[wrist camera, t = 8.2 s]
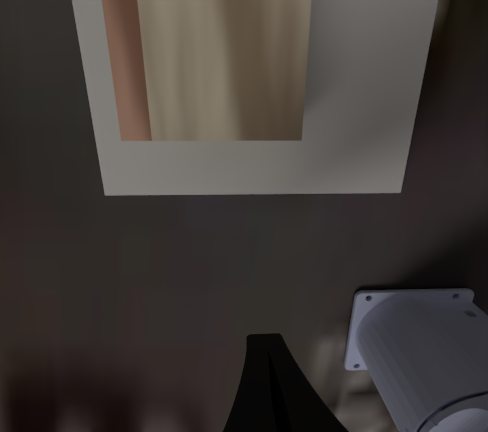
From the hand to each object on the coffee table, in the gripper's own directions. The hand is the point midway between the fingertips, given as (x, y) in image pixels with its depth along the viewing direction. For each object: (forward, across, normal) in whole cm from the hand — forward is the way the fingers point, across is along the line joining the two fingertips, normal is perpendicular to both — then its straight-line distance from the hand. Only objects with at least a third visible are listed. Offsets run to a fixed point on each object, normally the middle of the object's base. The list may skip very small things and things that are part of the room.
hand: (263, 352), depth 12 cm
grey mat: (+10, 0, -10) cm, 14 cm away
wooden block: (+8, -2, -11) cm, 14 cm away
